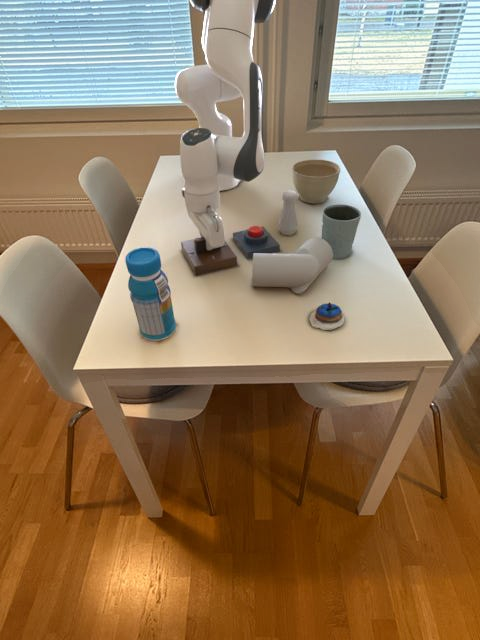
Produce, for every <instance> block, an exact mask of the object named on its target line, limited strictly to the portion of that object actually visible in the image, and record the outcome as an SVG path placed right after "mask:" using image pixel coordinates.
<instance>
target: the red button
mask: <svg viewBox="0 0 480 640" xmlns="http://www.w3.org/2000/svg"><path fill="white" fill-rule="evenodd" d="M248 229H249V236H251V237H261V236H262V235H263V228H262V226H259V225H252V226H250V227H249V228H248Z"/></svg>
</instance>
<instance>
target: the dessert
mask: <svg viewBox="0 0 480 640" xmlns="http://www.w3.org/2000/svg"><path fill="white" fill-rule="evenodd" d="M308 319H309V323H310V325H311V327H312V328H316V329H320V330H322V331H330V330H331V331H332V330H335V329H336V328H339V327H341V326H343V325H344V323H345V317H344V316H343V310H342V309H341V308H340V306H339V305H337V304H334V303H331V302H328V303H321V304H320V305H319V306H318V307H317V308H316V309H315V310H313V312H311V314H310V315H309V318H308Z"/></svg>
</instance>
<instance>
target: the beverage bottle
mask: <svg viewBox="0 0 480 640" xmlns="http://www.w3.org/2000/svg"><path fill="white" fill-rule="evenodd" d="M124 259H125V265H126V269H127V272H128V274H129V275H130V276H129V278H128V281H127V283H128V284H127V287H128V290H129V297H130V301H131V303H132V306H133V309H134V313H135V317H136V320H137V324H138V328H139V332H140V335H141V336H142V337H143V338H144V339H146V340H148V341H153V342H159V341H163V340H166V339H168V338H169V337H171V336H172V335H173V334H174V333H175V331H176V328H177V323H176V319H175V316H174V315H175V314H174V307H173V304H172V303H173V301H172V297H171V294H172V291H171V288H170V286H169V279H168V277H167V275H166V273H165V272H164V271H163V270H162V260H161V255H160V253H159V251H158V250H157V249H156V248H153V247H148V246H143V247H137V248H135V249H132V250H130V251H129V252H128V253H127V254H126V255H125V258H124Z"/></svg>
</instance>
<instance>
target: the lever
mask: <svg viewBox="0 0 480 640" xmlns="http://www.w3.org/2000/svg"><path fill="white" fill-rule="evenodd" d="M193 239H194V245H195V251H196V252H197V253H200V252H204V251H208V250H207V249H206V247H205V243H206V240H205V238H204V237H201V236H200V237H195V238H193ZM218 248H221V247H218ZM213 249H217V248H213Z"/></svg>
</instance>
